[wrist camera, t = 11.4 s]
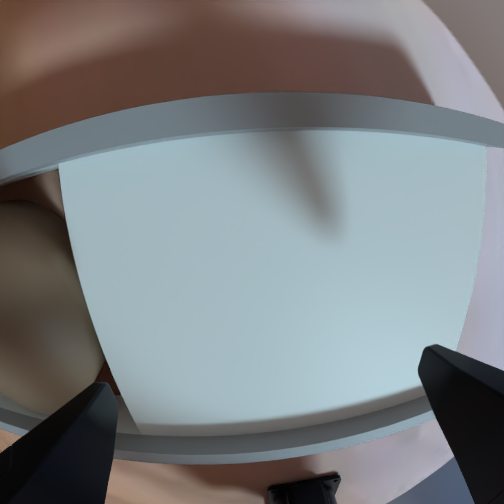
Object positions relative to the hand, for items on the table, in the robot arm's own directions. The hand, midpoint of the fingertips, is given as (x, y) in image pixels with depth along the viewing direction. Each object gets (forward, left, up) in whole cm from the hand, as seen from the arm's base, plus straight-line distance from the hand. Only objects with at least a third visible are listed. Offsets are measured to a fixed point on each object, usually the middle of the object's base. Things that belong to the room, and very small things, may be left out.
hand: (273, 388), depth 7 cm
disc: (0, +12, -7) cm, 14 cm away
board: (0, +5, -6) cm, 8 cm away
